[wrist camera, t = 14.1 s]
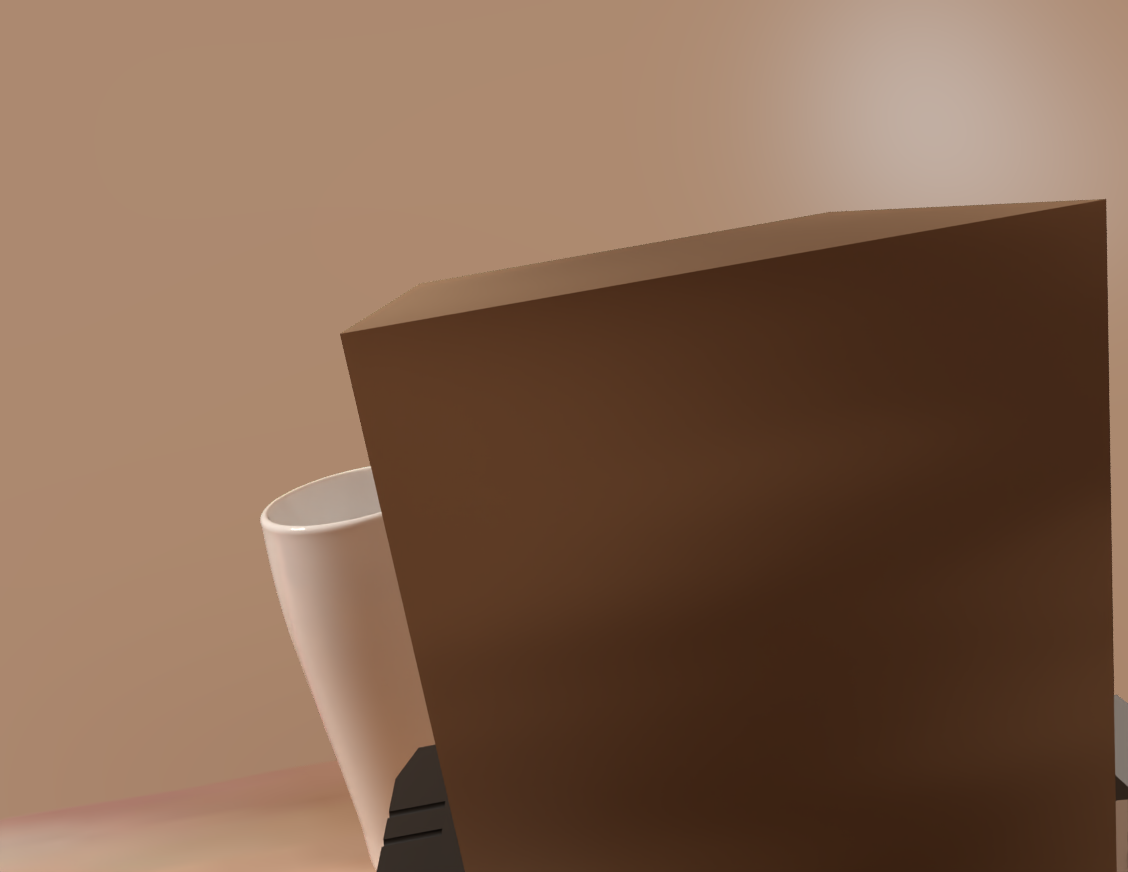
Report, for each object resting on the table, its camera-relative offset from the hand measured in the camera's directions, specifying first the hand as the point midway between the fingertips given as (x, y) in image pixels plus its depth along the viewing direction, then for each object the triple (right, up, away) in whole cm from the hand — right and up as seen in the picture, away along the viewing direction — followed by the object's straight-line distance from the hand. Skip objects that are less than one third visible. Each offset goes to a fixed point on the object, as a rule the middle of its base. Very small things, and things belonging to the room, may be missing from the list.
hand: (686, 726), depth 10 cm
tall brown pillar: (+2, -9, -1) cm, 9 cm away
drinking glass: (-6, -13, +24) cm, 28 cm away
